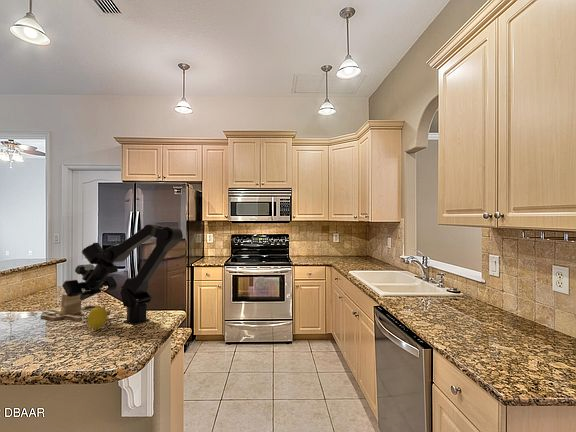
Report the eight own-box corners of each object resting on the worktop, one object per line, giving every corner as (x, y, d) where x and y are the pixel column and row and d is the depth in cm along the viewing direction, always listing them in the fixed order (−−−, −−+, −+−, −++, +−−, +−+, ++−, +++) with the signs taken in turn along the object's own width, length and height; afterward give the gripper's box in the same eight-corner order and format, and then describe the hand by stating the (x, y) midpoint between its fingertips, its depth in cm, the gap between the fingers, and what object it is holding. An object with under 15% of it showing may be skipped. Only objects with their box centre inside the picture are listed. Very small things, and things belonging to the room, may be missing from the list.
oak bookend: (80, 312, 126) (81, 292, 126) (65, 315, 120) (66, 294, 121) (64, 309, 130) (65, 290, 131) (48, 312, 125) (50, 292, 125)
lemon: (110, 327, 104) (111, 304, 105) (98, 332, 99) (99, 307, 99) (95, 327, 105) (96, 303, 105) (82, 332, 99) (84, 307, 100)
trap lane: (118, 311, 126) (118, 308, 126) (67, 323, 108) (67, 320, 108) (83, 306, 136) (83, 303, 136) (31, 316, 118) (31, 313, 118)
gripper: (113, 256, 129) (95, 281, 133) (66, 259, 112) (47, 287, 116) (125, 275, 125) (107, 301, 129) (79, 281, 108) (58, 310, 112)
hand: (81, 299), depth 122 cm, fingers closed
